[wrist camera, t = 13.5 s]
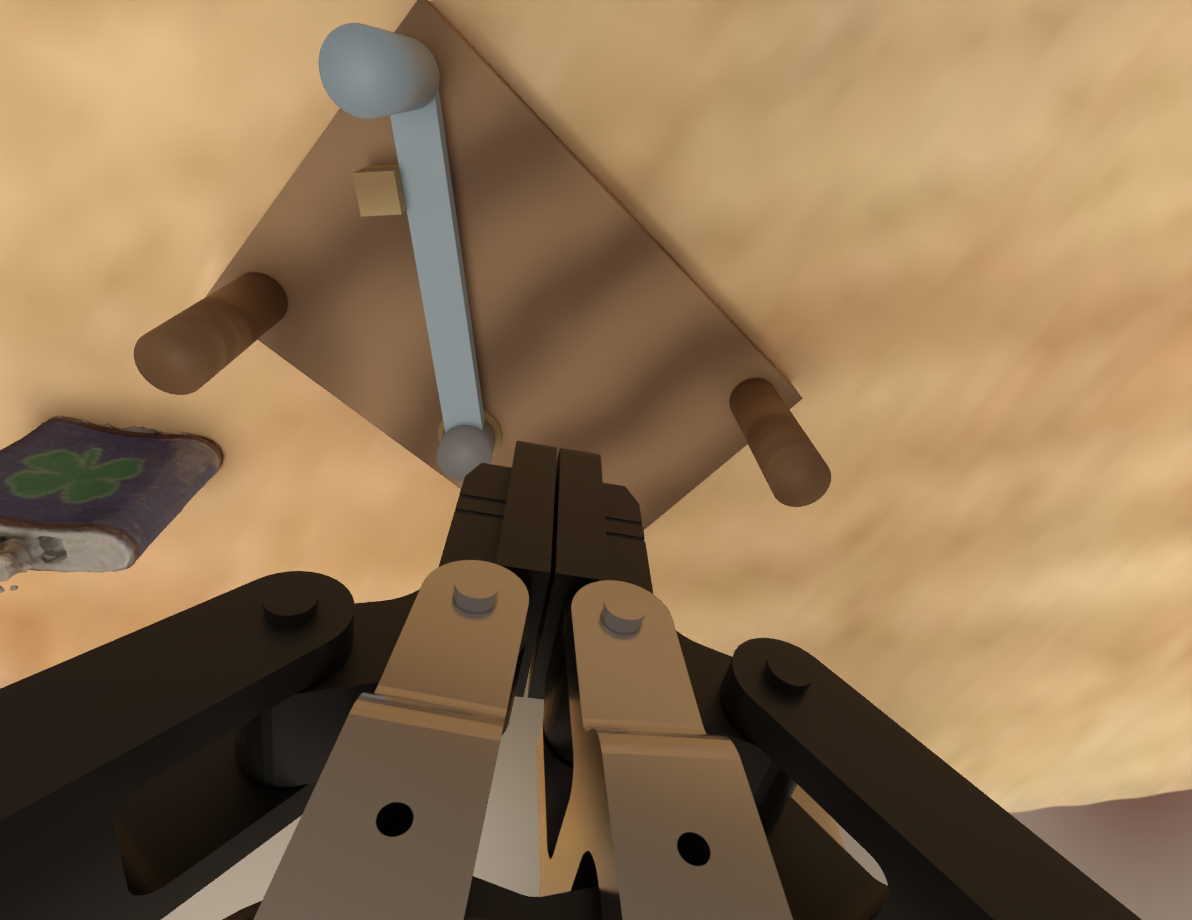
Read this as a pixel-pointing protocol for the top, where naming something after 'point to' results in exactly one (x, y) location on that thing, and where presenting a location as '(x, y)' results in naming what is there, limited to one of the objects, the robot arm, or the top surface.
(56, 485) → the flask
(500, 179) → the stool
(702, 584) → the top surface
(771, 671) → the robot arm
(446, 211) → the cylinder
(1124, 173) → the top surface
